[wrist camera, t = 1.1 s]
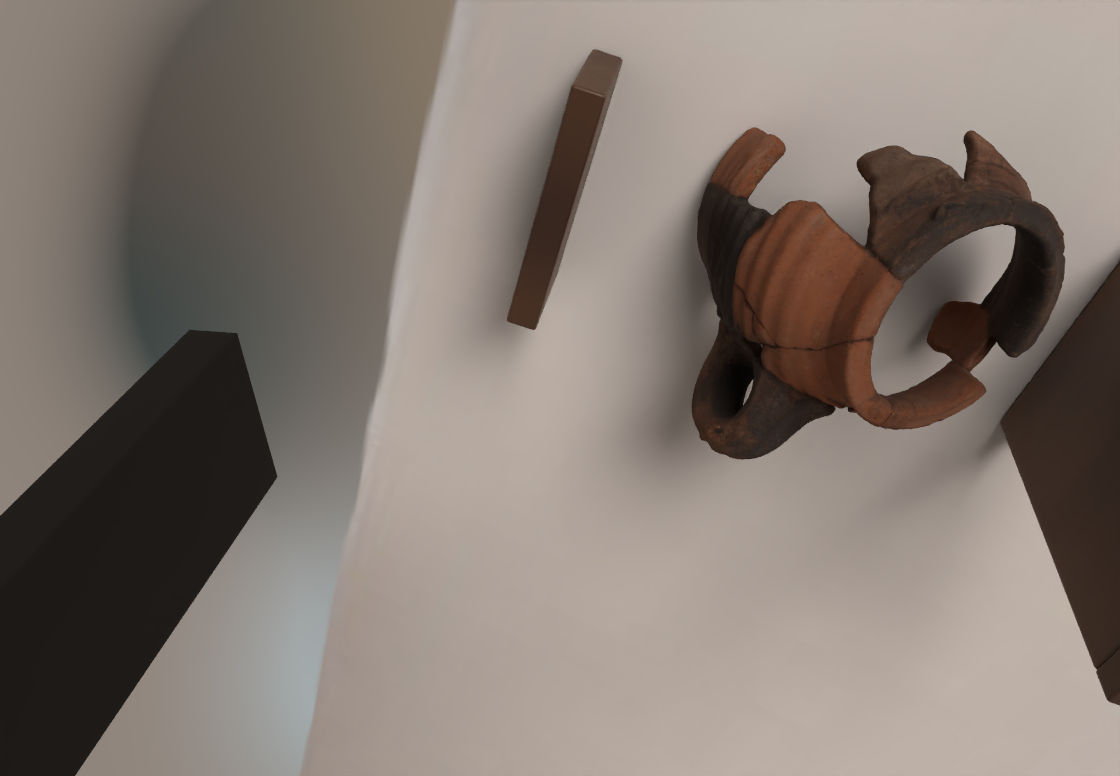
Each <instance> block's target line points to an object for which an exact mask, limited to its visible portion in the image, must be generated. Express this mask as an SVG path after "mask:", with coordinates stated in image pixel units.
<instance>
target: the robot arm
mask: <svg viewBox="0 0 1120 776" xmlns="http://www.w3.org/2000/svg"><path fill="white" fill-rule="evenodd" d="M276 478H277V474H276V470H275V467H274V463H273V460H272V456H271V453H270V449H269V446H268V442H267V438H266V435H265V431H264V428H263V424H262V421H261V417H260V413H259V410H258V406H257V403H256V399H255V396H254V392H253V389H252V385H251V381H250V378H249V374H248V371H247V367H246V364H245V360H244V356H243V353H242V349H241V346H240V342H239V339H238V335H237V333H226V332H210V331H196V330H189V331H188V332H187V333H186V334H185V335H184V336H183V337H182V338H181V339H180V340H179V341H178V342H177V343H176V344H175V345H174V346H173V347H172V348H171V349H170V350H169V351H168V352H167V353H166V354H164V356H162V357H161V358H160V359H159V360H158V361H157V362H156V363H155V364H154V365H153V367H151V368H150V369H149V370H148V371H147V372H146V373H145V374H144V375H143V376H142V377H141V378H140V379H139V380H138V381H137V382H136V383H135V384H134V385H133V386H132V387H131V388H130V389H129V390H128V391H127V392H126V393H125V394H124V395H123V396H122V397H121V398H120V399H119V400H118V401H117V402H116V403H115V404H114V405H113V406H112V407H111V408H110V409H109V410H107V412H105V413H104V414H103V415H102V416H101V417H100V418H99V419H98V420H97V421H96V423H94V424H93V425H92V426H91V427H90V428H89V429H88V430H87V431H86V432H85V433H84V434H83V435H82V436H81V437H80V438H79V439H78V440H77V441H76V442H75V443H74V444H73V445H72V446H71V447H70V448H69V449H68V450H67V451H66V452H65V453H64V454H63V455H62V456H61V457H60V458H59V459H58V460H57V461H56V462H55V463H54V464H53V465H52V466H51V467H50V468H48V469H47V471H46V472H45V473H43V474H42V476H40V477H39V478H38V480H36V481H35V482H34V483H33V484H32V485H31V486H30V487H29V488H28V489H27V490H26V491H25V492H24V493H23V494H22V495H21V496H20V497H19V498H18V499H17V500H16V501H15V502H14V503H13V504H12V505H11V506H10V507H9V508H8V509H7V510H6V511H5V512H4V513H3V514H2V515H1V516H0V776H75V775H76V774H77V772H78V771H79V769H80V768H81V766H82V765H83V763H84V762H85V760H86V759H87V757H88V756H89V754H90V753H91V751H92V750H93V748H94V747H95V746H96V744H97V742H98V741H99V740H100V738H101V737H102V735H103V734H104V732H105V731H106V729H107V728H108V726H109V724H110V723H111V722H112V720H113V719H114V717H115V716H116V714H117V713H118V712H119V710H120V709H121V707H122V706H123V704H124V702H125V701H126V699H127V698H128V697H129V695H130V694H131V692H132V691H133V689H134V688H135V686H136V685H137V683H138V682H139V681H140V679H141V678H142V676H143V675H144V673H145V672H146V670H147V669H148V667H149V666H150V664H151V663H152V661H153V660H154V658H155V657H156V655H157V654H158V652H159V651H160V649H161V648H162V647H163V645H164V644H165V642H166V641H167V639H168V638H169V636H170V635H171V633H172V632H173V630H174V629H175V627H176V626H177V624H178V623H179V621H180V620H181V618H182V617H183V615H184V614H185V613H186V611H187V610H188V608H189V607H190V605H191V604H192V602H193V601H194V599H195V598H196V596H197V594H198V593H199V592H200V590H201V589H202V588H203V586H204V585H205V583H206V582H207V580H208V579H209V577H210V576H211V574H212V573H213V571H214V570H215V568H216V567H217V565H218V564H219V562H220V561H221V559H222V558H223V556H224V555H225V553H226V552H227V551H228V549H229V548H230V546H231V545H232V543H233V542H234V540H235V539H236V537H237V536H238V534H239V533H240V531H241V530H242V528H243V527H244V525H245V524H246V523H247V521H248V519H249V518H250V516H251V515H252V514H253V512H254V510H255V509H256V508H257V506H258V505H259V503H260V502H261V500H262V499H263V497H264V496H265V494H266V493H267V492H268V490H269V489H270V487H271V486H272V484H273V483H274V481H275V480H276Z"/></svg>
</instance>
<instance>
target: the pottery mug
mask: <svg viewBox="0 0 1120 776" xmlns="http://www.w3.org/2000/svg"><path fill="white" fill-rule="evenodd" d="M964 144H965V147H966V152H967V162H966V169H965V173H964V180H963V179H962V178H961V177H960V176H959V175H958V173H957V172H956V171H955V170H954V169H953V168H952V167H951V166H950V165H947V164H945V163H943V162H942V161H940V160H938V159H936V158H932V157H927V156H918V155H913V154H911V153H910V152H908V151H907V150H905V149H904V148H902V147H899V146H887V147H884V148H880V149H878V150H875V151H871V152H868V153H866V154H864V155H863V156H862V157H860V158H859V159H858V161H857V168H858V170H859V172H860V174H861V175H862V177H863V178H864V179H865V181H866V182H867V183H868V184H869V185H870V192H869V208H870V225H869V228H868V235H867V243H866V245H865V246H862V245H861V244H859V243H858V242H857V241H856V240H855V239H854V238H853V237H852V236H850V235H849V234H848V233H846V232H845V231H844V230H843V229H842V228H841V227H840V226H839V225H838V224H837V223H836V222H835V221H834V220H833V219H831V218H830V216H829V215H828V214H827V213H826V211H825V210H824V209H823V208H822V206H820V205H819V204H818V203H816V202H807V201H802V200H798V201H791V202H789V203H787V204H786V205H784V206H783V207H782V208H781V209H779V210H778V211H777V213H776V214H774V215H771V214H770V213H769V212H767V211H766V210H764V209H759V208H756V207H754V206H751V205H750V204H749V202H748V198H749V196H750V195H751V193H752V192H753V191H754V189H755V188H756V186H757V184H758V183H759V182H760V181H761V179H762V178H763V177H764V175H765V174H766V173H767V172H768V171H769V170H770V169H771V168H772V166H773V165H774V164H775V163H776V162H777V161H778V160H779V159H780V158H781V157H782V156H783V155H784V153H785V150H786V148H785V145H784V143H783V142H782V141H781V140H780V139H779V138H778V137H776V136H774V135H772V134H769V135H768V134H766V133H765V132H764V131H762V130H760V129H758V128H751V129H749V130H747V131H746V132H745V133H744V134H743V135H742V136H741V137H740V138H739V139H738V140H737V141H736V142H735V143H734V144H733V145H732V146H731V148H730V149H729V150H728V152H727V153H726V154H725V156H724V157H723V158H722V160H721V161H720V163H719V165H718V167H717V168H716V170H715V172H714V173H713V175H712V178H711V181H710V183H709V184H708V185H707V187H706V189H705V192H704V195H703V198H702V202H701V206H700V209H699V212H698V225H697V241H698V248H699V252H700V256H701V258H702V261H703V263H704V265H705V268H706V270H707V273H708V277H709V280H710V284H711V291H712V295H713V299H714V301H715V303H716V305H717V315H718V316H719V317H720V318H721V320H720V323H719V331H718V335H717V338H716V340H715V343H714V345H713V347H712V350H711V352H710V354H709V356H708V357H707V359H706V360H705V362H704V364H703V367H702V369H701V371H700V373H699V376H698V378H697V381H696V384H695V388H694V393H693V398H692V415H693V419H694V423H695V425H696V427H697V429H698V431H699V435H700V439H701V440H704V441H707V442H708V444H709V445H710V447H711V449H712V450H714V451H715V452H718V453H720V454H724V455H727V456H729V457H731V458H735V459H753V458H758V457H761V456H763V455H765V454H768V453H770V452H771V451H773V450H775V449H776V448H778V447H779V446H781V445H782V444H783V443H784V442H785V441H787V440H788V439H789V438H790V437H791V436H792V435H793V434H795V433H796V432H797V431H798V430H800V429H801V428H802V427H803V426H804V425H806V424H807V423H809V422H811V421H813V420H815V419H818V418H821V417H824V416H829V415H831V414H832V413H833V412H834V411H835V406H836V407H838V408H844V407H848V411H849V412H854V413H858V415H859V416H860V417H862V418H863V419H864V420H865V421H868V422H869V423H870V424H872V425H874V426H877V427H882V428H885V429H887V428H889V429H894V430H898V429H913V428H919V427H924V426H928V425H931V424H932V423H934V422H937V421H942V420H944V419H946V418H948V417H950V416H952V415H954V414H956V413H958V412H960V411H961V410H963V409H965V408H967V407H968V406H970V405H972V404H973V403H974V402H976V401H977V400H978V399H979V398H980V397H982V396H983V395H984V394H985V393H986V389H985V386H984V385H983V384H982V383H981V382H980V381H979V380H978V379H977V378H975V377H974V376H973V375H972V374H971V373H970V371H971V370H972V369H973V368H974V367H975V366H976V365H977V364H979V363H980V362H981V361H982V360H983V358H984V357H985V356H986V355H987V354H988V352H989V351H990V350H991V348H992V347H993V346H994V345H995V343H996V342H997V343H998V345H999V346H1000V347H1001V349H1003V351H1004V352H1005V353H1006V354H1007V355H1008V356H1009V357H1013V358H1016V357H1018V356H1019V355H1020V354H1022V353H1023V352H1025V351H1027V350H1028V349H1030V348H1031V346H1032V345H1033V344H1034V343H1035V342H1036V340H1037V338H1038V336H1039V334H1040V333H1041V332H1042V331H1043V329H1044V327H1045V325H1046V323H1047V322H1048V320H1049V317H1050V314H1051V312H1052V310H1053V309H1054V306H1055V304H1056V302H1057V299H1058V296H1059V293H1060V290H1061V287H1062V282H1063V280H1064V269H1065V257H1064V255H1063V253H1064V248H1065V246H1064V239H1063V235H1064V233H1063V232H1062V230H1061V229H1060V227H1059V225H1058V222H1057V221H1056V219H1055V217H1054V215H1053V214H1052V213H1051V212H1050V210H1049V209H1048V208H1046V207H1045V206H1043V205H1041V204H1039V203H1037V202H1035V201H1032V199H1031V193H1030V190H1029V188H1028V186H1027V183H1026V181H1025V180H1024V179H1023V178H1022V177H1021V175H1020V174H1019V173H1018V172H1017V171H1016V170H1015V169H1014V168H1013V167H1012V166H1011V165H1010V164H1009V163H1008V162H1007V161H1006V159H1005V158H1004V157H1003V156H1002V155H1001V154H1000V153H999V152H998V151H997V150H996V149H995V148H994V146H993V145H992V144H990V143H989V142H988V141H986V140H985V139H984V138H983V137H981V136H980V135H979V134H977V133H976V132H975V131H968V132H967V133H966V134H965V136H964ZM1000 224H1004V225H1009V226H1013V227H1014V228H1015V229H1016V236H1015V245H1014V250H1013V255H1012V259H1011V262H1010V263H1009V265H1008V267H1007V269H1006V271H1005V273H1004V274H1003V275H1002V277H1001V278H1000V279H999V281H998V282H997V283H996V284H995V286H994V287H993V289H992V290H991V292H990V293H989V294H988V295H987V296H986V297H985V299H984V300H983V302H982V303H981V304H977V303H973V302H958V301H950V302H947V303H946V304H945V305H944V307H942V309H941V310H940V312H939V314H938V315H937V317H936V318H935V320H934V322H933V324H932V326H931V329H930V330H929V333H928V335H927V343H928V344H929V346H930V347H931V348H932V349H933V350H934V351H937V352H941V353H944V354H946V355H948V356H949V357H950V358H951V359H952V361H950V362H949V363H948V364H947V365H946V366H945V367H944V368H942V369H941V370H940V371H938V372H937V373H935V374H934V375H932V376H931V377H929V378H928V379H926V380H925V381H923V382H921V383H919V384H918V385H916V386H914V387H911V388H909V389H908V390H906V391H902V392H899V393H896V394H892V395H889V396H883V395H882V394H878V393H877V392H876V390H875V388H874V385H873V382H872V378H871V364H870V362H871V355H872V349H873V342H874V336H875V335H876V334H877V332H878V329H879V327H880V324H881V322H882V319H883V318H884V316H885V314H886V312H887V311H888V309H889V307H890V305H891V304H892V302H893V300H894V299H895V297H896V296H897V294H898V293H899V291H900V290H901V289H902V287H903V284H904V282H905V281H906V280H907V279H908V278H909V277H910V276H912V275H913V274H914V273H915V272H916V271H917V270H918V269H919V268H920V267H921V266H922V265H923V264H924V263H926V262H927V261H928V260H929V259H930V258H931V257H932V256H933V255H934V254H936V253H937V252H938V251H939V250H941V249H942V248H944V247H945V246H947V245H948V244H950V243H952V242H954V241H955V240H957V239H959V238H961V237H963V236H965V235H967V234H969V233H971V232H973V231H976V230H979V229H983V228H985V227H989V226H996V225H1000ZM753 379H754V380H753ZM752 380H753V386H752V390H751V393H750V395H749V397H748V399H747V401H746V402H745V404H744V405H743V402H744V398H745V394H746V390H747V388H748V385H749V384H750V382H751V381H752Z"/></svg>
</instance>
